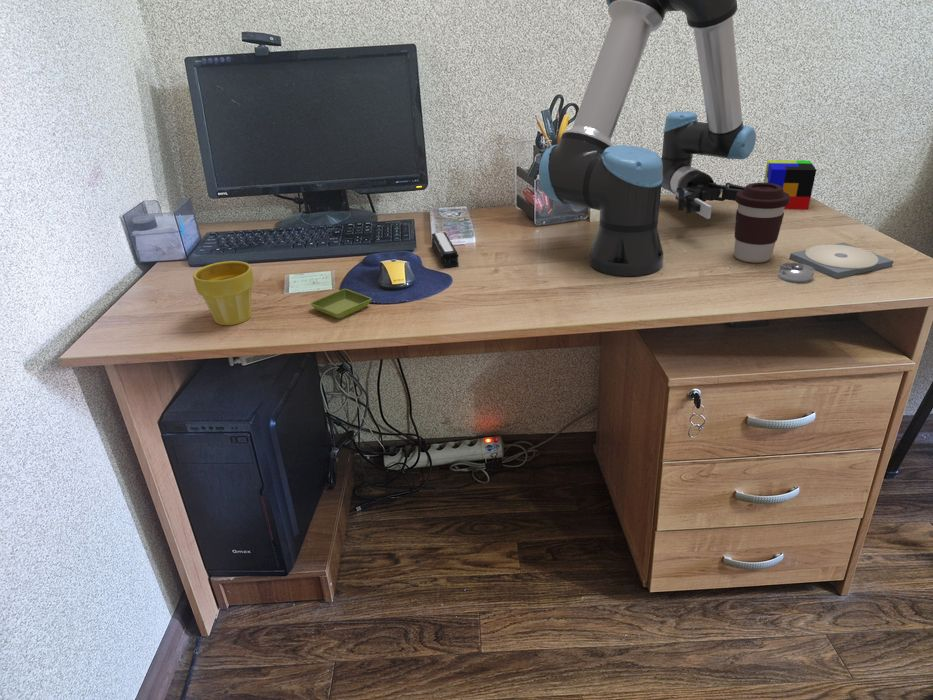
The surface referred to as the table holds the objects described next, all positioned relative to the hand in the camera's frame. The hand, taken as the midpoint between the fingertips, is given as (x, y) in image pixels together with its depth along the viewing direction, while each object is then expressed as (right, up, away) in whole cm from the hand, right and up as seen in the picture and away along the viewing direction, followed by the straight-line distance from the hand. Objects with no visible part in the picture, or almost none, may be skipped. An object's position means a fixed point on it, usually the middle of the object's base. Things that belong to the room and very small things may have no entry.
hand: (739, 209), depth 137 cm
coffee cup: (+1, -11, -3) cm, 12 cm away
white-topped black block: (-63, -9, +10) cm, 65 cm away
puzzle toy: (+24, +7, +28) cm, 37 cm away
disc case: (+17, -13, -8) cm, 23 cm away
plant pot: (-104, -24, -16) cm, 108 cm away
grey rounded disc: (+5, -16, -13) cm, 22 cm away
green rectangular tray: (-83, -23, -14) cm, 87 cm away
